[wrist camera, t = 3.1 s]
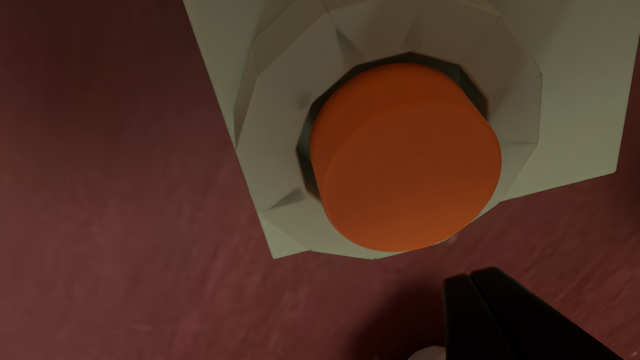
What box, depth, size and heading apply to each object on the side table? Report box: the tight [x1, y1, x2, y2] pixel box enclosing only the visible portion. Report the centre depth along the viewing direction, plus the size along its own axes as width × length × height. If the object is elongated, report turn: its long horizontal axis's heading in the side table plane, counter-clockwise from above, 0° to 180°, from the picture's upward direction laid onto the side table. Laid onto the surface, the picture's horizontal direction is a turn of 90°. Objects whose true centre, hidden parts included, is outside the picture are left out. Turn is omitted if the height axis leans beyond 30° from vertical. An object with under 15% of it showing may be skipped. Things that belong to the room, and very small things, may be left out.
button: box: [309, 63, 502, 252], centre depth 11 cm, size 4×4×2 cm
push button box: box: [183, 0, 640, 259], centre depth 13 cm, size 10×8×4 cm
